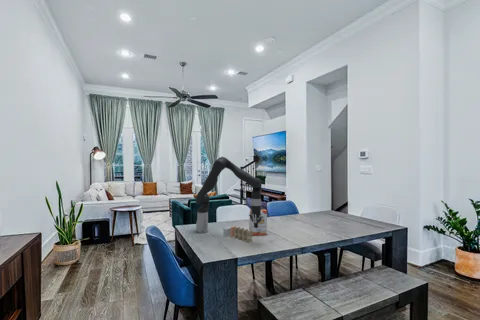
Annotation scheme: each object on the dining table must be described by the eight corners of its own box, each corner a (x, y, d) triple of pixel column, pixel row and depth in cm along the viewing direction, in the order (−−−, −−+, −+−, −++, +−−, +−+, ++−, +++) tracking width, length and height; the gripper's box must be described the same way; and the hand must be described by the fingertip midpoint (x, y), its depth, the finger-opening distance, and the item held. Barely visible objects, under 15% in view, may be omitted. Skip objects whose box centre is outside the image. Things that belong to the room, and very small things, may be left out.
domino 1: (230, 236, 204) (230, 227, 204) (234, 235, 207) (234, 226, 207) (231, 237, 202) (231, 227, 203) (236, 236, 206) (236, 226, 206)
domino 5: (246, 241, 191) (246, 231, 191) (250, 240, 195) (250, 230, 195) (247, 242, 190) (248, 231, 190) (252, 241, 193) (252, 230, 194)
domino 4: (242, 240, 194) (242, 230, 194) (246, 239, 198) (246, 229, 198) (243, 241, 193) (243, 230, 193) (248, 239, 197) (248, 229, 197)
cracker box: (250, 236, 206) (251, 210, 207) (249, 234, 212) (249, 209, 213) (267, 235, 209) (267, 210, 209) (264, 233, 215) (265, 209, 215)
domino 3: (238, 239, 197) (238, 229, 197) (242, 238, 201) (242, 228, 201) (239, 239, 196) (239, 229, 196) (244, 238, 200) (244, 228, 200)
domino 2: (234, 238, 201) (234, 228, 201) (238, 236, 204) (238, 227, 204) (235, 238, 199) (235, 228, 200) (240, 237, 203) (240, 227, 203)
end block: (223, 235, 206) (223, 228, 206) (232, 233, 213) (232, 226, 213) (225, 236, 204) (225, 229, 204) (234, 234, 211) (234, 227, 211)
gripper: (266, 205, 186) (265, 228, 186) (252, 203, 195) (252, 225, 195) (259, 206, 181) (259, 230, 180) (246, 204, 190) (246, 227, 190)
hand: (255, 227), depth 188 cm, fingers closed
